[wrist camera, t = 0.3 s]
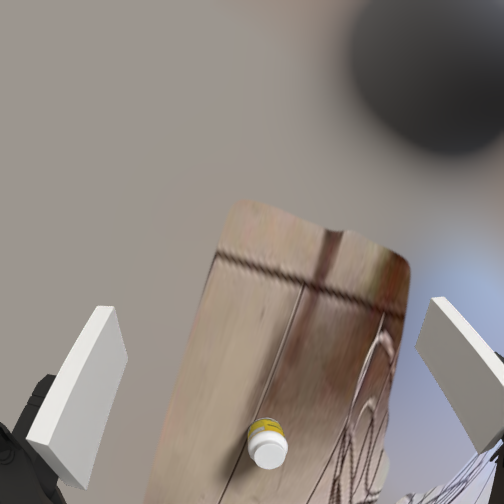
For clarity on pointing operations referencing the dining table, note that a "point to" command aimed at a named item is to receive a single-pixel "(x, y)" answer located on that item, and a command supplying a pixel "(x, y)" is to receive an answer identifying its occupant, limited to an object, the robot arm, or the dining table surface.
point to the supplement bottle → (267, 443)
